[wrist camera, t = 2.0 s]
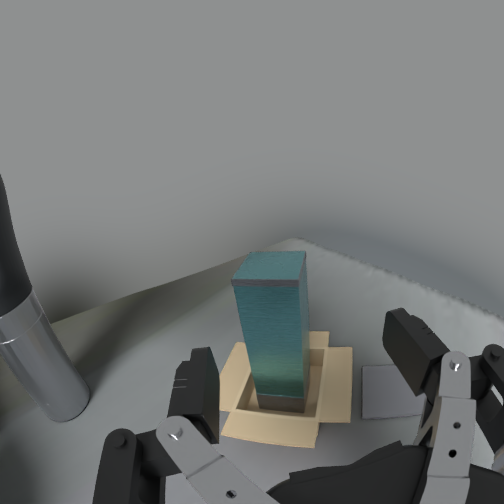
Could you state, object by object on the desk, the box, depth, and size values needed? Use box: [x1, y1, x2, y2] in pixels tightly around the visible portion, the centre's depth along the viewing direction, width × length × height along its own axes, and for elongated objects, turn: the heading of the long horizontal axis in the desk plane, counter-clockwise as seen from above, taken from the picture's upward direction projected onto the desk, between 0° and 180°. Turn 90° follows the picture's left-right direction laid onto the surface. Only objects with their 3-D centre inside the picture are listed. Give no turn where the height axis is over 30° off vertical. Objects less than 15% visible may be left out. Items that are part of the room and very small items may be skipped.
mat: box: [362, 365, 426, 419], centre depth 25 cm, size 8×8×1 cm
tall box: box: [231, 251, 310, 413], centre depth 25 cm, size 5×5×17 cm
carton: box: [219, 331, 352, 448], centre depth 28 cm, size 15×17×4 cm
